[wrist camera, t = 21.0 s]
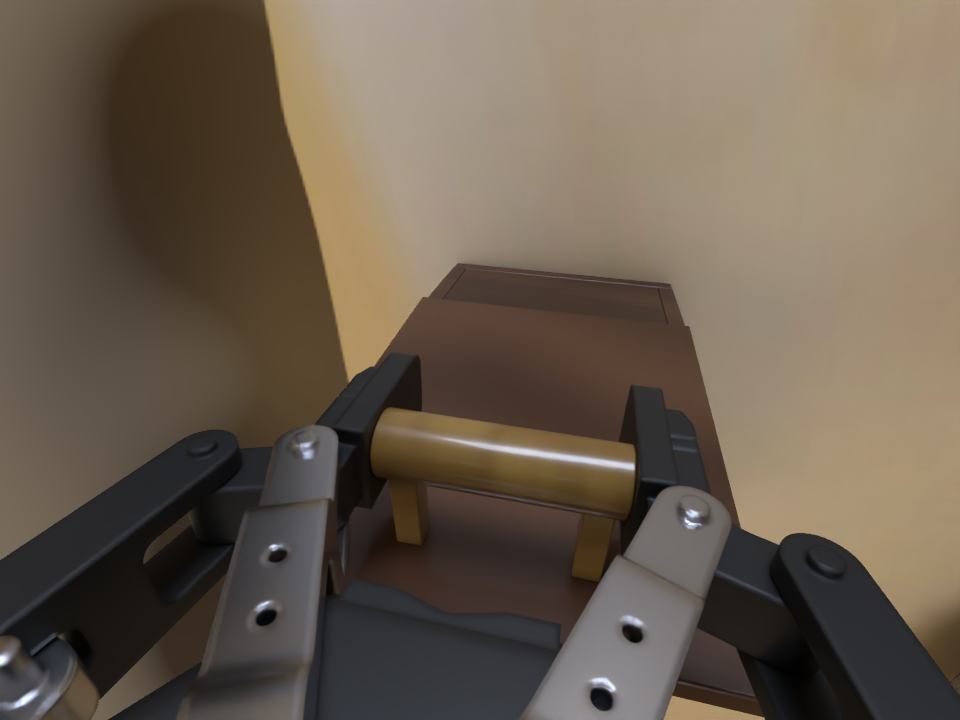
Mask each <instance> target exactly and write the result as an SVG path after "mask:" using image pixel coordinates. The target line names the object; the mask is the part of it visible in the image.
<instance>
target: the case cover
mask: <svg viewBox="0 0 960 720" xmlns="http://www.w3.org/2000/svg"><path fill="white" fill-rule="evenodd" d="M391 352H398V353H405V354H413V355H418V356H419V357H420V361H421V383H422V411H421V412H419V411H413V410H406V409H400V408H393V407H389V408H387V409H385V410H384V411H383V413H382V414H381V416H380V417H379V419H378V422H377V424H376V427H375V430H374V433H373V437H372V442H371V449H370V465H371V470H372V472H373V474H374V475H375V476H376V477H380V478H386V479H388V480H387V482H386V484H385V485H384V487H383V489H382V491H381V493H380V495H379V496H378V498H377V500H376V502H375V504H374V506H373V508H372V509H366V508H361V507H355V509H354V510H353V512H352V514H351V515H350V524H351V534H350V561H349V578H350V577H351V578H355V579H360V580H364V581H369V582H374V583H378V584H383V585H387V586H392V587H396V588H399V589H401V590H403V591H405V592H407V593H409V594H411V595H413V596H415V597H417V598H419V599H421V600H423V601H424V602H426V603H428V604H430V605H432V606H434V607H436V608H438V609H440V610H442V611H444V612H447V613H484V612H509V613H513V614H518V615H522V616H527V617H531V618H536V619H540V620H545V621H549V622H554V623H558V624H561V633H560V643H562V644H564V643H565V641H566V640H567V638H568V636H569V635H570V633H571V631H572V629H573V628H574V626H575V624H576V623H577V621H578V619H579V618H580V616H581V614H582V612H583V611H584V609H585V607H586V606H587V604H588V602H589V600H590V599H591V597H592V595H593V594H594V592H595V590H596V589H597V587H598V585H599V583H600V582H601V580H602V578H603V577H604V575H605V573H606V572H607V570H608V568H609V566H610V565H611V563H612V561H613V560H614V558H615V557H616V556H617V555H618V554H621V538H620V521H627V520H628V518H629V515H630V512H631V509H632V504H633V499H634V492H635V484H636V470H637V457H636V449H635V446H634V445H633V444H627V443H621V442H619V438H620V432H621V427H622V423H623V418H624V413H625V408H626V404H627V399H628V394H629V390H630V387H631V385H640V386H647V387H654V388H661V389H662V391H663V396H664V401H665V407H666V409H671V410H678V411H682V412H683V413H684V414H685V415H686V417H687V418H688V419H689V420H690V421H691V422H692V423H693V425H694V428H695V432H696V436H697V442H698V444H699V448H700V454H701V456H702V459H703V463H704V467H705V471H706V475H707V479H708V483H709V487H710V491H711V495H712V496H713V497H715V498H716V499H717V500H718V501H720V502H721V503H722V504H723V505H724V507H725V508H726V509H727V511H728V512H729V514H730V517H731V521H732V523H733V524H735V525H736V526H737V527H739V528H741V527H740V523H739V519H738V515H737V511H736V507H735V503H734V499H733V496H732V492H731V488H730V484H729V480H728V476H727V472H726V468H725V464H724V460H723V456H722V452H721V449H720V445H719V441H718V437H717V433H716V429H715V425H714V421H713V417H712V413H711V409H710V406H709V402H708V398H707V394H706V390H705V386H704V382H703V378H702V374H701V370H700V366H699V363H698V359H697V355H696V351H695V347H694V343H693V339H692V335H691V331H690V327H688V326H679V325H670V324H661V323H652V322H643V321H634V320H625V319H616V318H607V317H598V316H589V315H580V314H571V313H562V312H553V311H544V310H535V309H526V308H517V307H508V306H499V305H490V304H481V303H472V302H463V301H454V300H445V299H436V298H427V297H423V298H422V299H421V300H420V302H419V303H418V305H417V306H416V308H415V309H414V310H413V312H412V313H411V315H410V316H409V318H408V319H407V320H406V322H405V323H404V325H403V326H402V328H401V329H400V330H399V332H398V333H397V335H396V336H395V338H394V339H393V340H392V342H391V343H390V345H389V346H388V348H387V349H386V350H385V352H384V353H383V355H382V356H381V358H380V359H379V360H378V362H377V363H376V365H375V366H374V367H378V368H379V366H380V365H381V364H382V363H383V361H384V360H385V359H386V358H387V356H388V355H389V354H390V353H391ZM672 696H676V697H680V698H685V699H689V700H693V701H697V702H702V703H706V704H710V705H714V706H719V707H723V708H727V709H731V710H735V711H740V712H744V713H748V714H752V715H757V716H761V717H764V715H763V713H762V710H761V708H760V706H759V703H758V701H757V698H756V696H755V693H754V691H753V689H752V686H751V684H750V681H749V679H748V676H747V674H746V671H745V669H744V667H743V664H742V662H741V659H740V657H739V654H738V651H737V648H736V647H734V646H732V645H730V644H728V643H726V642H724V641H722V640H720V639H718V638H716V637H714V636H712V635H710V634H708V633H706V632H704V631H702V630H700V629H698V628H696V630H695V633H694V635H693V638H692V641H691V644H690V647H689V649H688V652H687V655H686V658H685V660H684V663H683V666H682V669H681V672H680V674H679V677H678V680H677V683H676V686H675V688H674V691H673V694H672Z"/></svg>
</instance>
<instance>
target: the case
mask: <svg viewBox="0 0 960 720" xmlns="http://www.w3.org/2000/svg"><path fill="white" fill-rule="evenodd" d="M428 298H436V299H445V300H454V301H463V302H472V303H481V304H490V305H499V306H508V307H517V308H526V309H535V310H544V311H553V312H562V313H571V314H580V315H589V316H598V317H607V318H616V319H625V320H634V321H643V322H652V323H661V324H670V325H679V326H685V325H684V322H683V319H682V316H681V313H680V310H679V307H678V304H677V302H676V299H675V296H674V293H673V290H672V288H671V285H670V284H664V283H654V282H644V281H634V280H623V279H613V278H603V277H592V276H582V275H572V274H562V273H551V272H541V271H531V270H520V269H510V268H500V267H490V266H479V265H469V264H459V263H458V264H457V265H456V266H455V267H454V268H453V269H452V270H451V271H450V272H449V274H448V275H447V276H446V277H445V278H444V279H443V281H442V282H441V283H440V284H439V285H438V286H437V288H436V289H435V290H434V291H433V292H432V293H431V295H430V296H429V297H428Z"/></svg>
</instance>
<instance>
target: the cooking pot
mask: <svg viewBox="0 0 960 720" xmlns="http://www.w3.org/2000/svg"><path fill="white" fill-rule="evenodd" d="M951 685H952V686H953V687H954V689H955V690H956V691H957V693H958V694H959V695H960V674H959V675H957V676H956V677H955V678H954V679H953V681H952V682H951Z"/></svg>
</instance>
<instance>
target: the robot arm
mask: <svg viewBox="0 0 960 720" xmlns="http://www.w3.org/2000/svg"><path fill="white" fill-rule="evenodd" d="M389 407H393V408H400V409H406V410H413V411H419V412H421V411H422V383H421V361H420V357H419V356H418V355H413V354H405V353H398V352H391V353H390V354H389V355H388V356H387V358H386V359H385V360H384V361H383V363H382V364H381V365H380V366H379V368H378V367H369V368H368V369H366V370H364V371H362V372H361V373H359V374H357V375H356V376H355V377H354V378H353V379H352V380H351V382H350V383H349V384H348V385H347V388H345V389H344V390H343V391H342V392H341V393H340V395H339V397H337V398H336V399H335V401H334V402H333V403H332V404H331V405H330V407H329V408H328V409H327V410H326V411H325V412H324V413H323V415H322V416H321V417H320V418H319V419H318V421H317V422H316V423H315V424H314V425H307V426H302V427H298V428H295V429H292V430H290V431H288V432H286V433H285V434H283V435H282V436H281V437H280V438H279V439H278V440H277V441H276V442H275V444H274V446H273V447H260V448H244V449H240V448H239V444H238V440H237V438H236V436H235V435H234V434H233V433H231V432H228V431H225V430H207V431H202V432H198V433H195V434H192V435H190V436H188V437H186V438H184V439H182V440H181V441H179V442H177V443H176V444H174V445H173V446H171V447H170V448H168V449H167V450H165V451H164V452H162V453H161V454H159V455H158V456H156V457H155V458H153V459H152V460H150V461H149V462H147V463H146V464H144V465H143V466H141V467H140V468H138V469H137V470H135V471H134V472H132V473H131V474H129V475H128V476H126V477H125V478H123V479H122V480H120V481H119V482H117V483H116V484H114V485H113V486H111V487H110V488H108V489H107V490H105V491H104V492H102V493H101V494H99V495H98V496H96V497H95V498H93V499H92V500H90V501H89V502H87V503H86V504H84V505H83V506H81V507H80V508H78V509H77V510H75V511H74V512H72V513H71V514H69V515H68V516H66V517H65V518H63V519H62V520H60V521H59V522H57V523H56V524H54V525H53V526H51V527H50V528H48V529H47V530H45V531H44V532H42V533H41V534H39V535H38V536H36V537H35V538H33V539H32V540H30V541H28V542H27V543H26V544H24V545H23V546H21V547H20V548H18V549H16V550H15V551H13V552H12V553H11V554H9V555H7V556H6V557H5V558H3V559H1V560H0V720H92V718H93V716H94V714H95V712H96V709H97V706H98V703H99V700H100V699H101V698H102V697H103V696H104V694H106V693H107V692H108V691H109V690H110V689H111V688H112V687H113V686H114V685H115V684H116V683H117V682H118V681H119V680H120V679H121V678H122V677H123V676H124V675H125V674H126V673H127V672H128V671H129V670H130V669H131V668H132V667H133V666H134V665H135V664H136V663H137V662H138V661H139V660H140V659H141V658H142V657H143V656H144V655H145V654H146V653H147V652H148V651H149V650H150V649H151V648H152V647H153V646H154V645H155V644H156V643H157V642H158V641H159V640H160V639H161V638H162V637H163V636H164V635H165V634H166V633H167V632H168V631H169V630H170V629H171V628H172V627H173V626H174V625H175V624H176V623H177V622H178V621H179V620H180V619H181V618H182V617H183V616H184V615H185V614H186V613H187V612H188V611H189V610H190V609H191V608H192V607H193V606H194V605H195V604H196V603H197V602H198V601H199V600H200V599H201V598H202V597H203V596H204V595H205V594H206V593H207V592H208V591H209V590H210V589H211V588H212V587H213V586H214V585H215V584H216V583H217V582H218V581H219V580H220V579H221V578H222V577H223V576H224V575H225V574H226V573H227V576H226V579H225V583H224V586H223V590H222V594H221V597H220V601H219V604H218V608H217V611H216V615H215V619H214V622H213V625H212V629H211V633H210V637H209V640H208V643H207V648H206V650H205V654H204V658H203V661H202V662H200V663H198V664H197V665H195V666H194V667H192V668H190V669H189V670H187V671H185V672H184V673H182V674H181V675H179V676H177V677H176V678H175V679H173V680H171V681H170V682H168V683H166V684H165V685H163V686H162V687H160V688H158V689H157V690H155V691H153V692H152V693H150V694H149V695H147V696H145V697H144V698H142V699H141V700H139V701H138V702H136V703H134V704H133V705H131V706H129V707H128V708H126V709H124V710H123V711H121V712H120V713H118V714H116V715H115V716H113V717H112V718H110V719H108V720H663V719H664V716H665V713H666V711H667V708H668V705H669V702H670V699H671V697H672V694H673V691H674V688H675V686H676V683H677V680H678V677H679V674H680V672H681V669H682V666H683V663H684V660H685V658H686V655H687V652H688V649H689V647H690V644H691V641H692V638H693V635H694V633H695V630H696V628H698V629H700V630H702V631H704V632H706V633H708V634H710V635H712V636H714V637H716V638H718V639H720V640H722V641H724V642H726V643H728V644H730V645H732V646H734V647H736V648H737V651H738V654H739V657H740V659H741V662H742V664H743V667H744V669H745V671H746V674H747V676H748V679H749V681H750V684H751V686H752V689H753V691H754V693H755V696H756V698H757V701H758V703H759V706H760V708H761V710H762V713H763V715H764V718H765V720H960V695H959V694H958V693H957V691H956V690H955V689H954V687H953V686H952V685H951V683H950V682H949V680H948V679H947V678H946V676H945V675H944V674H943V672H942V671H941V670H940V668H939V667H938V666H937V664H936V663H935V662H934V660H933V659H932V658H931V656H930V655H929V653H928V652H927V651H926V649H925V648H924V647H923V645H922V644H921V643H920V641H919V640H918V639H917V637H916V636H915V635H914V633H913V632H912V631H911V629H910V628H909V626H908V625H907V624H906V622H905V621H904V620H903V618H902V617H901V616H900V614H899V613H898V612H897V610H896V609H895V608H894V606H893V605H892V603H891V602H890V601H889V599H888V598H887V597H886V595H885V594H884V593H883V591H882V590H881V589H880V587H879V586H878V585H877V583H876V582H875V581H874V579H873V578H872V576H871V575H870V574H869V572H868V571H867V570H866V568H865V567H864V566H863V565H862V563H861V562H860V561H859V560H858V559H857V558H856V557H855V556H854V555H852V554H851V553H850V552H849V551H847V550H846V549H844V548H843V547H841V546H840V545H838V544H836V543H834V542H832V541H830V540H828V539H826V538H823V537H820V536H817V535H812V534H806V533H796V534H791V535H789V536H786V537H785V538H784V539H783V540H782V542H781V543H780V545H778V544H775V543H773V542H770V541H768V540H765V539H763V538H761V537H758V536H756V535H753V534H751V533H749V532H747V531H744V530H743V529H741V528H739V527H737V526H736V525H735V524H733V523H732V521H731V517H730V514H729V512H728V511H727V509H726V508H725V507H724V505H723V504H722V503H721V502H720V501H718V500H717V499H716V498H715V497H713V496H712V495H711V491H710V487H709V483H708V479H707V475H706V471H705V467H704V463H703V459H702V456H701V454H700V448H699V444H698V442H697V436H696V432H695V428H694V425H693V423H692V422H691V421H690V420H689V419H688V418H687V417H686V415H685V414H684V413H683V412H682V411H678V410H671V409H666V407H665V401H664V396H663V391H662V389H661V388H654V387H647V386H640V385H631V387H630V390H629V394H628V399H627V404H626V408H625V413H624V418H623V423H622V427H621V432H620V438H619V442H621V443H627V444H633V445H634V446H635V449H636V457H637V470H636V484H635V492H634V499H633V504H632V509H631V512H630V515H629V518H628V520H627V521H620V538H621V554H618V555H617V556H616V557H615V558H614V560H613V561H612V563H611V565H610V566H609V568H608V570H607V572H606V573H605V575H604V577H603V578H602V580H601V582H600V583H599V585H598V587H597V589H596V590H595V592H594V594H593V595H592V597H591V599H590V600H589V602H588V604H587V606H586V607H585V609H584V611H583V612H582V614H581V616H580V618H579V619H578V621H577V623H576V624H575V626H574V628H573V629H572V631H571V633H570V635H569V636H568V638H567V640H566V641H565V643H564V644H562V643H560V633H561V624H558V623H554V622H549V621H545V620H540V619H536V618H531V617H527V616H522V615H518V614H513V613H509V612H484V613H447V612H444V611H442V610H440V609H438V608H436V607H434V606H432V605H430V604H428V603H426V602H424V601H423V600H421V599H419V598H417V597H415V596H413V595H411V594H409V593H407V592H405V591H403V590H401V589H399V588H396V587H392V586H387V585H383V584H378V583H374V582H369V581H364V580H360V579H355V578H351V577H350V578H349V561H350V534H351V524H350V515H351V514H352V512H353V510H354V509H355V507H361V508H366V509H372V508H373V506H374V504H375V502H376V500H377V498H378V496H379V495H380V493H381V491H382V489H383V487H384V485H385V484H386V482H387V480H388V479H386V478H380V477H376V476H375V475H374V474H373V472H372V470H371V465H370V449H371V442H372V437H373V433H374V430H375V427H376V424H377V422H378V419H379V417H380V416H381V414H382V413H383V411H384V410H385V409H387V408H389ZM187 513H188V515H189V518H190V521H191V525H190V526H189V527H188V528H187V529H185V531H183V532H182V533H181V534H179V535H178V536H177V537H176V538H175V539H174V540H172V541H171V542H170V543H169V544H168V545H166V546H165V547H164V548H163V549H162V550H160V551H159V552H158V553H157V554H156V555H154V556H153V557H152V558H151V559H150V560H149V561H148V562H146V563H145V564H143V557H144V554H145V552H146V550H147V548H148V546H149V545H150V544H151V543H152V542H153V541H154V540H155V539H156V538H157V537H158V536H159V535H161V534H162V533H163V532H164V531H166V530H167V529H168V528H169V527H170V526H172V525H173V524H174V523H175V522H177V521H178V520H179V519H180V518H182V517H183V516H184V515H185V514H187Z"/></svg>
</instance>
